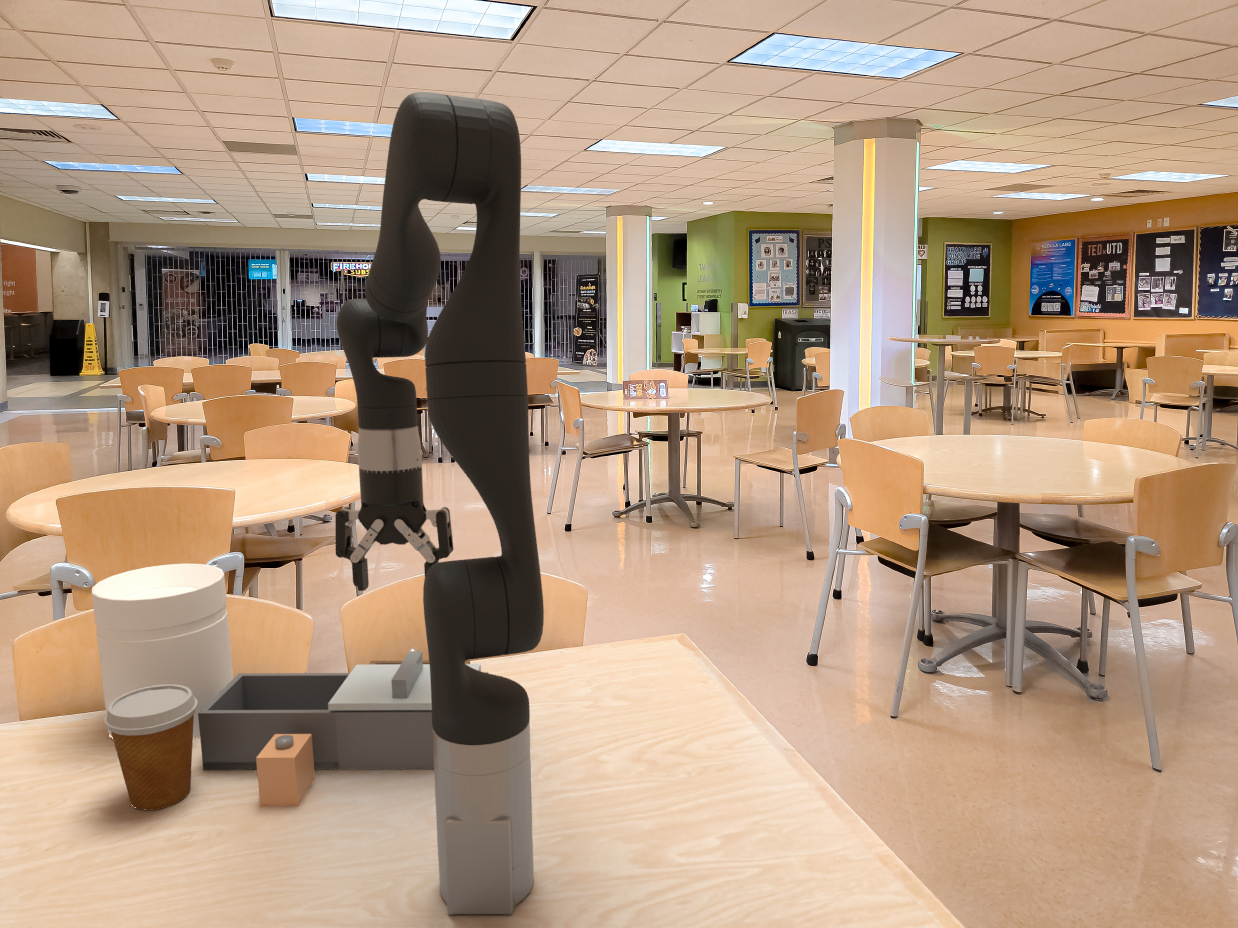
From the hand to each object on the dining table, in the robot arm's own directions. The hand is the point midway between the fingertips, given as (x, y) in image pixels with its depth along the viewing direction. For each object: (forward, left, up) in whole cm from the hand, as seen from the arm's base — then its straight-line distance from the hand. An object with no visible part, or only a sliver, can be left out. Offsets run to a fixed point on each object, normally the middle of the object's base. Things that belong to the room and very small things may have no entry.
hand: (397, 589), depth 112 cm
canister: (+8, +34, -21) cm, 41 cm away
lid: (0, -1, -13) cm, 13 cm away
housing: (0, +6, -21) cm, 22 cm away
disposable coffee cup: (-12, +26, -21) cm, 36 cm away
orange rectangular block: (-11, +11, -21) cm, 26 cm away
